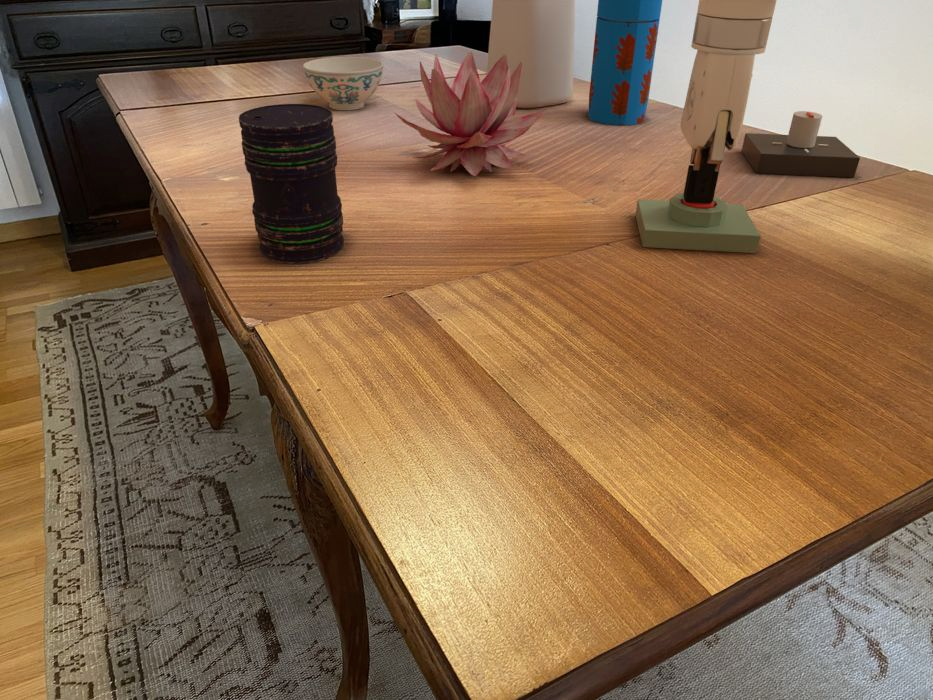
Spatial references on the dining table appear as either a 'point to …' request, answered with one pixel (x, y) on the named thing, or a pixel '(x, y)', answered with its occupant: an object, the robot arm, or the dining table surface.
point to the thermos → (623, 60)
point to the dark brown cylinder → (293, 181)
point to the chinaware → (344, 80)
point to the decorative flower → (473, 116)
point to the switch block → (696, 226)
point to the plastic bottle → (535, 47)
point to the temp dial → (804, 129)
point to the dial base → (799, 156)
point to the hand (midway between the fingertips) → (697, 200)
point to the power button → (699, 205)
